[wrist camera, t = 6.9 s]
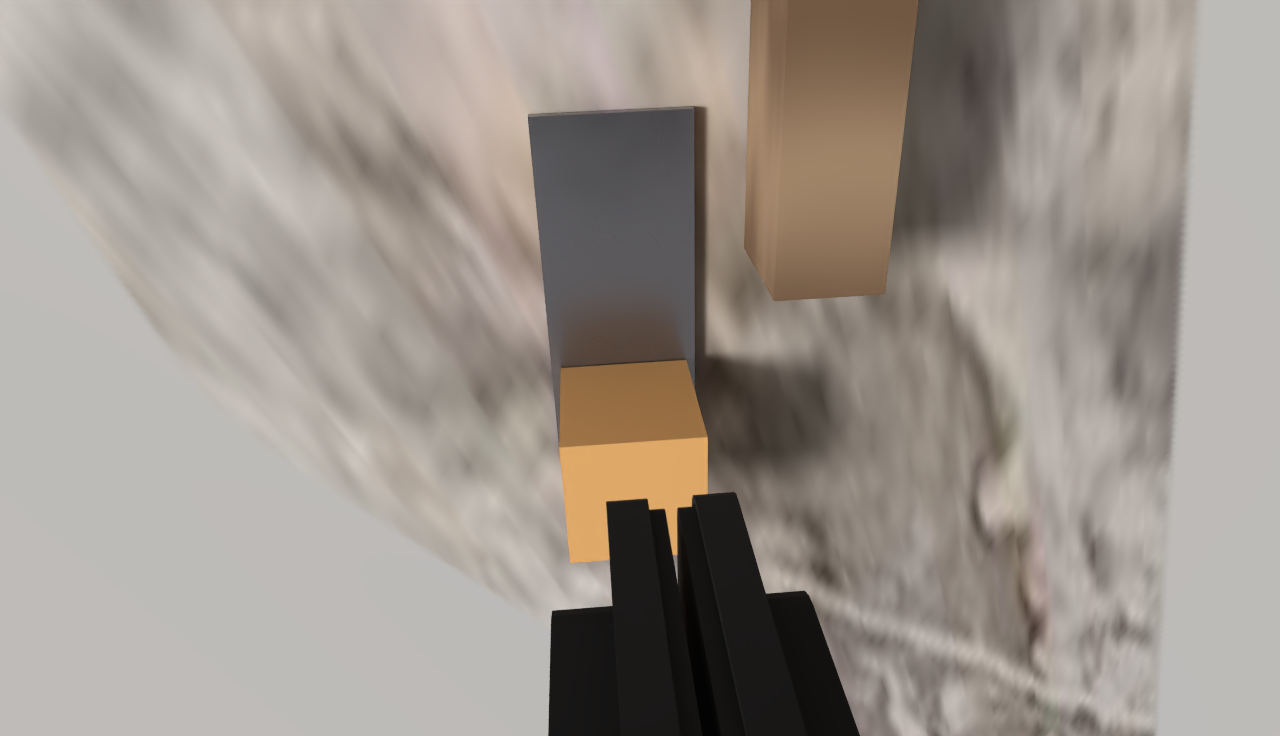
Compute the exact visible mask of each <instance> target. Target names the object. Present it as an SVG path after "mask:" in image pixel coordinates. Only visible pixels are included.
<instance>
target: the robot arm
mask: <svg viewBox="0 0 1280 736" xmlns="http://www.w3.org/2000/svg"><path fill="white" fill-rule="evenodd" d="M606 510H607V525H608V541H609V557H610V572H611V588H612V604H613V606H607V607H594V608H582V609H569V610H557V611H552V617H551V649H550V693H549V735H548V736H860V735H859V732H858V729H857V726H856V723H855V721H854V718H853V715H852V712H851V709H850V707H849V704H848V701H847V698H846V696H845V693H844V690H843V687H842V684H841V682H840V679H839V676H838V673H837V670H836V668H835V665H834V662H833V659H832V656H831V654H830V651H829V648H828V645H827V642H826V640H825V637H824V634H823V631H822V628H821V626H820V623H819V620H818V617H817V614H816V612H815V609H814V606H813V604H812V601H811V599H810V597H809V595H808V594H807V593H806V592H805V591H796V592H783V593H770V594H766V593H765V589H764V586H763V583H762V579H761V576H760V572H759V569H758V566H757V562H756V559H755V555H754V552H753V549H752V545H751V542H750V538H749V535H748V532H747V528H746V525H745V521H744V518H743V515H742V511H741V508H740V504H739V501H738V498H737V495H736V493H735V492H729V493H715V494H702V495H693V497H692V507H679V508H677V559H678V584H677V578H676V572H675V566H674V560H673V554H672V547H671V541H670V535H669V529H668V523H667V517H666V512H665V509H651V510H649V504H648V499H633V500H619V501H606Z"/></svg>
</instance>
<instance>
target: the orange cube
mask: <svg viewBox="0 0 1280 736" xmlns="http://www.w3.org/2000/svg"><path fill="white" fill-rule="evenodd" d="M559 449H560V460H561V470H562V481H563V491H564V502H565V512H566V523H567V533H568V544H569V554H570V563H577V562H590V561H602V560H610V557H609V541H608V525H607V510H606V501H619V500H633V499H648V504H649V510H651V509H665V512H666V517H667V523H668V529H669V535H670V541H671V547H672V554H673V555H677V508H679V507H692V497H693V495H702V494H707V480H708V436H707V433H706V429H705V425H704V422H703V418H702V415H701V411H700V407H699V404H698V400H697V397H696V393H695V389H694V386H693V382H692V379H691V375H690V372H689V368H688V364H687V361H686V360H676V361H661V362H646V363H630V364H615V365H600V366H585V367H570V368H561V380H560V440H559Z"/></svg>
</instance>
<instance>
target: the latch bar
mask: <svg viewBox="0 0 1280 736" xmlns="http://www.w3.org/2000/svg"><path fill="white" fill-rule="evenodd" d="M918 4H919V0H751V18H750V54H749V91H748V127H747V163H746V200H745V236H744V248H745V250H746V252H747V254H748V256H749V257H750V259H751V261H752V263H753V264H754V266H755V268H756V270H757V272H758V273H759V275H760V277H761V279H762V280H763V282H764V284H765V286H766V288H767V289H768V291H769V293H770V295H771V296H772V298H773V300H774V301H784V300H800V299H816V298H832V297H848V296H864V295H880V294H885V290H886V281H887V273H888V264H889V255H890V247H891V238H892V229H893V221H894V212H895V203H896V195H897V186H898V177H899V168H900V160H901V151H902V142H903V134H904V125H905V116H906V108H907V99H908V90H909V82H910V73H911V64H912V56H913V47H914V38H915V30H916V21H917V12H918Z"/></svg>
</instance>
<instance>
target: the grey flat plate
mask: <svg viewBox="0 0 1280 736" xmlns="http://www.w3.org/2000/svg"><path fill="white" fill-rule="evenodd" d="M528 124H529V134H530V145H531V155H532V166H533V176H534V187H535V197H536V208H537V218H538V229H539V239H540V250H541V260H542V271H543V282H544V292H545V303H546V313H547V324H548V334H549V345H550V355H551V366H552V376H553V387H554V397H555V408H556V419H557V429H558V440H560V380H561V368H570V367H585V366H600V365H615V364H630V363H646V362H661V361H676V360H686V361H687V364H688V368H689V372H690V375H691V379H692V382H693V386H694V389H695V187H694V108H693V106H690V107H670V108H650V109H629V110H609V111H589V112H569V113H548V114H528ZM559 450H560V449H559Z"/></svg>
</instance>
